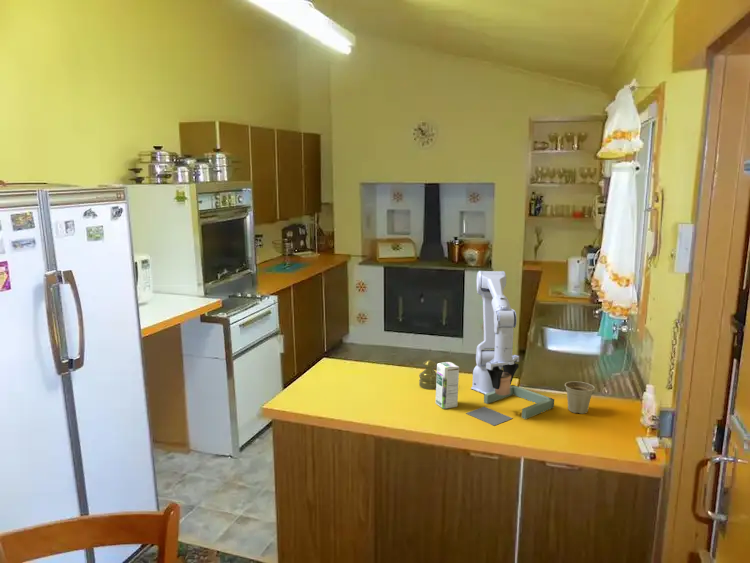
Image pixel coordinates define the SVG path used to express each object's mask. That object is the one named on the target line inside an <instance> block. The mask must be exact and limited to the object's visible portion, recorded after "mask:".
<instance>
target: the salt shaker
mask: <svg viewBox="0 0 750 563" xmlns="http://www.w3.org/2000/svg"><path fill="white" fill-rule="evenodd" d="M422 365H423V366H424V367H425V369H424V370H423V371H422V372H420V373H419V381H418V382H419V387H420V388H422V389H426V390H436V379H437V371H436V370H434V368H435V367H437V363H436V362H435V360H432V359H427V360H425V361H423V362H422Z"/></svg>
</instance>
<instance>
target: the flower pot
mask: <svg viewBox="0 0 750 563" xmlns="http://www.w3.org/2000/svg"><path fill="white" fill-rule="evenodd" d="M564 387H565V390H566V395H567V396H566V398H567V410H568V411H569V412H571V413H574V414H576V413H577V414H578V413H579V414H580V415H583V414H587V413H588V412H589V406H590V403H591V398H592V394H593V393H594V391H595V389H596V388H595V386H594V385H593V384H590V383H588V382H585V381H584V382H583V381H576V380H575V381H566V382H565V383H564Z"/></svg>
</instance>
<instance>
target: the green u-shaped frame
mask: <svg viewBox="0 0 750 563" xmlns="http://www.w3.org/2000/svg"><path fill="white" fill-rule="evenodd" d="M510 390H511V393H510V394H509V395H498V394H496V393H495V391H493V392H490V393H487V394H484V393H483V403H484V404H491V403H493V402H497V401H499V400H502V399H504V398H508V397H511V396H515V397H519V398H521V399H523V398H524V400H526V399H527V400H526V401H529V402H531V401H532V402H531V403H534V402H535V403H534V404H531V405H529V406H526V407H523V408H522V409H521V418H522V419H524V420H527V419H529V418H532V417H534V416H537V415H538V414H539V415H540V414H542V413H544V412H547V411H549V410H552V409H554V408H555V398H551V397H550V396H549V397H548V396H546V395H542V394H541V393H538V392H535V391H531V390H529V389H526V388H524V387H520V386H518V385H515V384H511V385H510ZM553 407H554V408H553ZM551 408H552V409H551ZM548 409H549V410H548ZM546 410H547V411H546ZM541 412H542V413H541Z"/></svg>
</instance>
